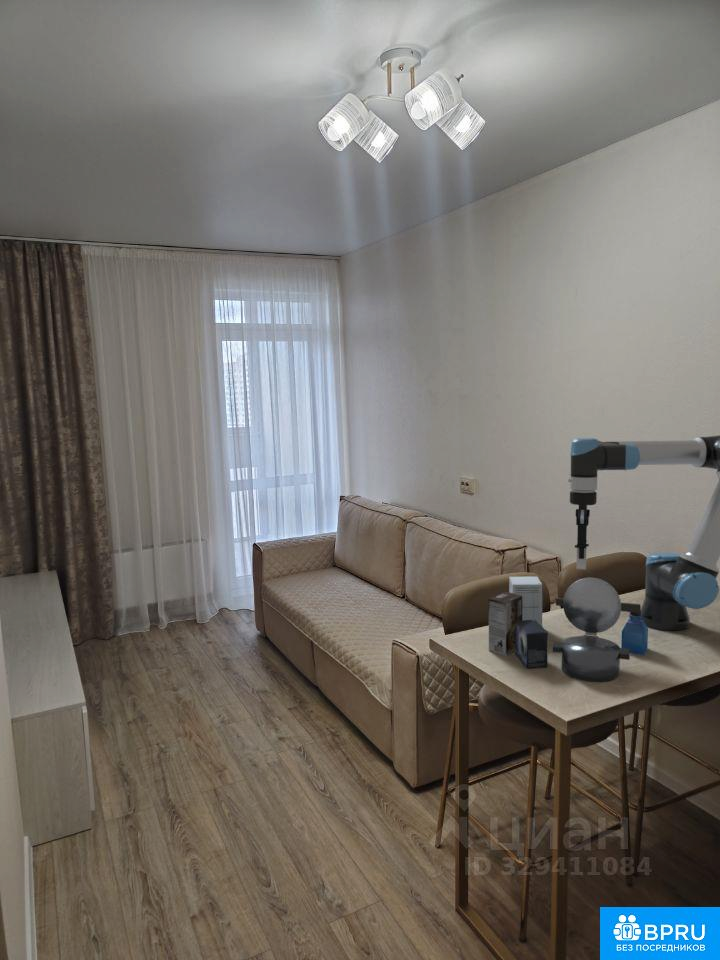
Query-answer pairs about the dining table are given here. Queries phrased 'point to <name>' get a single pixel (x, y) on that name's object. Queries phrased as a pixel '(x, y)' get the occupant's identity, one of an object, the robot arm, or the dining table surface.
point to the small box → (531, 644)
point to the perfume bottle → (635, 634)
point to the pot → (590, 658)
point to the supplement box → (528, 596)
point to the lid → (593, 605)
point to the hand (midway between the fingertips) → (581, 568)
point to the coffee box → (503, 622)
